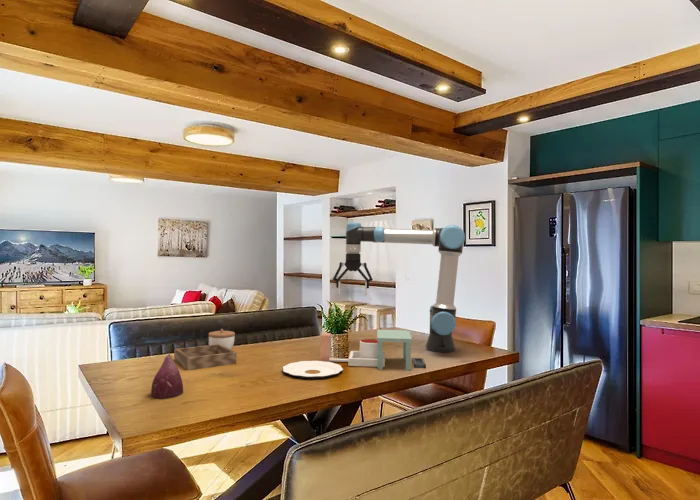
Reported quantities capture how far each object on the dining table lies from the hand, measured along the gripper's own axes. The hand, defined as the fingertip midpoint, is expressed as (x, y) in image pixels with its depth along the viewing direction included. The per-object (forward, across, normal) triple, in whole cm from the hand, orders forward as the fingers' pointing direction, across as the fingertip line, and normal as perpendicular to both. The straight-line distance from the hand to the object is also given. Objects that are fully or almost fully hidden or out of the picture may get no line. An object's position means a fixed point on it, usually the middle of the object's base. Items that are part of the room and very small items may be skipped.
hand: (352, 294), depth 233 cm
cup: (+29, +10, -24) cm, 39 cm away
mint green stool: (+29, +20, -24) cm, 43 cm away
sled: (+28, +2, -24) cm, 37 cm away
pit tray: (+29, +32, -24) cm, 49 cm away
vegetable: (+29, -60, -78) cm, 103 cm away
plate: (+29, -14, -43) cm, 53 cm away
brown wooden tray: (+28, -64, -32) cm, 77 cm away
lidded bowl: (+29, -64, -10) cm, 71 cm away
